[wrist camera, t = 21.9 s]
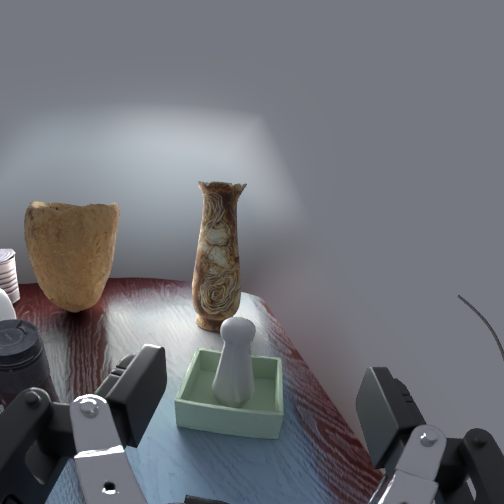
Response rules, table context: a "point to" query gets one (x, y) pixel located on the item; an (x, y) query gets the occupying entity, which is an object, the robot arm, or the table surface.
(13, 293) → the can
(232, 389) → the salt shaker
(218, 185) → the vase
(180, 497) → the table surface
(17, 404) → the robot arm
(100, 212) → the tan rough tapered pot
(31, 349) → the camera lens
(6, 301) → the piggy bank
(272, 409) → the open box
